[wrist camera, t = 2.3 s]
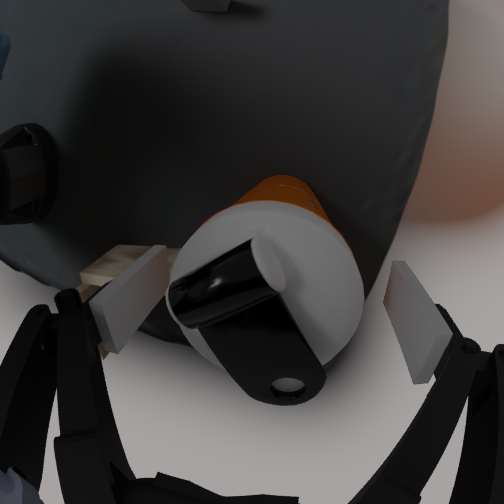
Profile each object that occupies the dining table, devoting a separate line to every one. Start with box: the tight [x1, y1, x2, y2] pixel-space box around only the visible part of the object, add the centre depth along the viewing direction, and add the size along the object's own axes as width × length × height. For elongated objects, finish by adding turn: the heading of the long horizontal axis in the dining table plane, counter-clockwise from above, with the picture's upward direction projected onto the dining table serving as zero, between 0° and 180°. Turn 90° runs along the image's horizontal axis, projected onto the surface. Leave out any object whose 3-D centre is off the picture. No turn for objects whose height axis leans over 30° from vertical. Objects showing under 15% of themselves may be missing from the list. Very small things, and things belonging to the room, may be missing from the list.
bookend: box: [76, 244, 182, 360], centre depth 29 cm, size 14×10×10 cm
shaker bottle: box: [166, 175, 364, 406], centre depth 19 cm, size 9×9×20 cm
